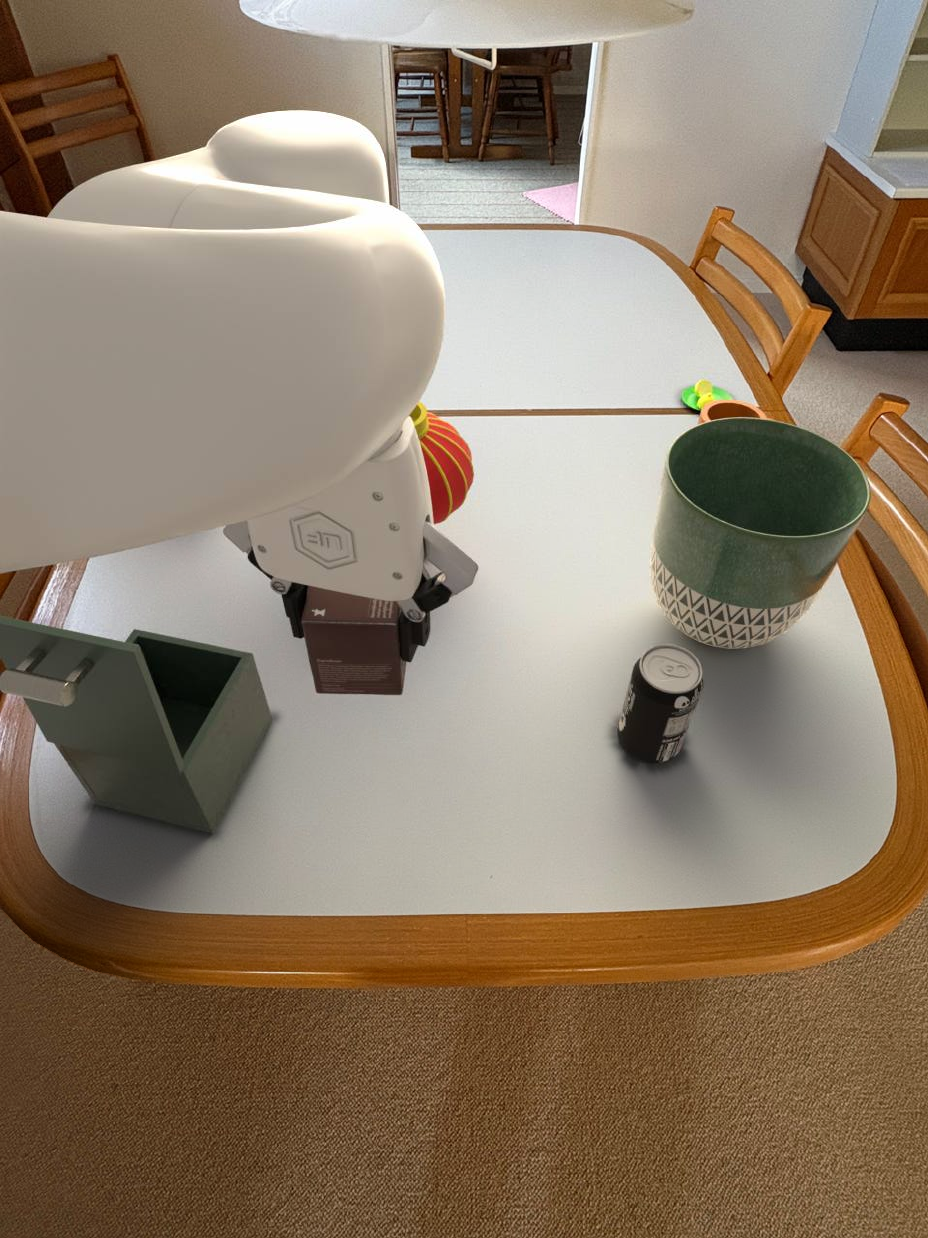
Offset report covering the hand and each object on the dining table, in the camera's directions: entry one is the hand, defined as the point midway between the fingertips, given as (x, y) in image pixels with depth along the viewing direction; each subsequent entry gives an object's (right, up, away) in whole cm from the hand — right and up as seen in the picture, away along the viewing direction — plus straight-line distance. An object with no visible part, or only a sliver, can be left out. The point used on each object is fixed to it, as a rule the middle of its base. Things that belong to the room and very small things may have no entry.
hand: (359, 633), depth 53 cm
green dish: (+46, +35, +72) cm, 92 cm away
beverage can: (+26, -12, +28) cm, 40 cm away
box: (0, -2, +2) cm, 3 cm away
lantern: (0, +10, +48) cm, 49 cm away
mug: (+45, +22, +60) cm, 78 cm away
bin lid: (-22, -5, +9) cm, 25 cm away
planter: (+37, +1, +40) cm, 54 cm away
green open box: (-21, -13, +27) cm, 36 cm away
